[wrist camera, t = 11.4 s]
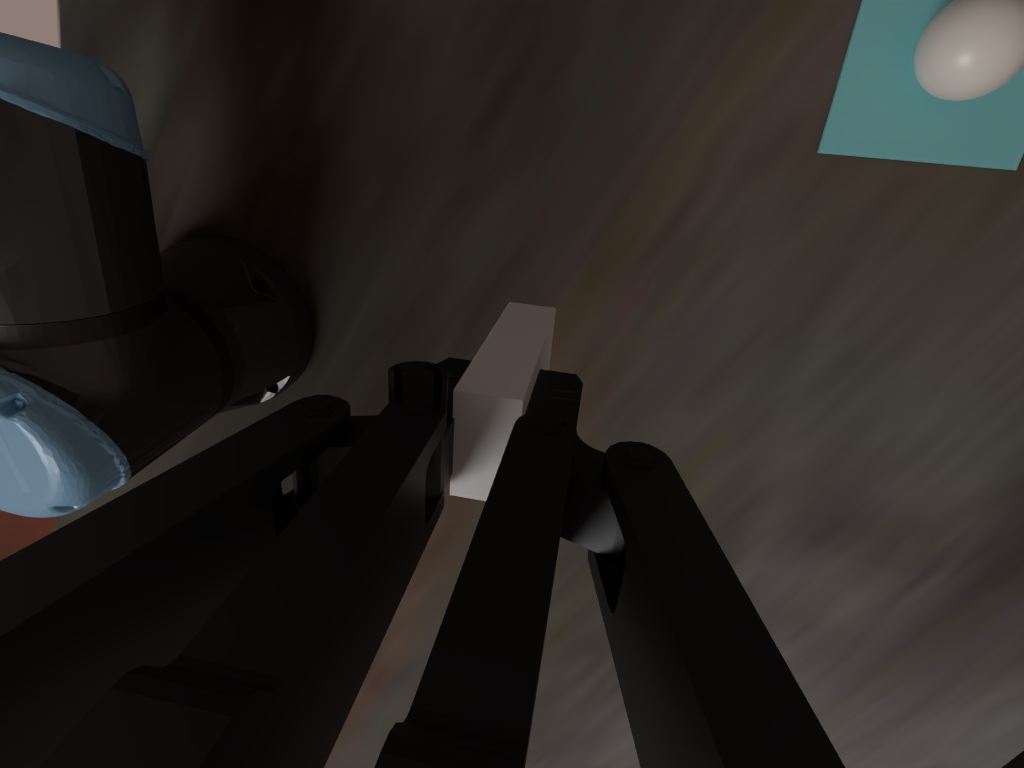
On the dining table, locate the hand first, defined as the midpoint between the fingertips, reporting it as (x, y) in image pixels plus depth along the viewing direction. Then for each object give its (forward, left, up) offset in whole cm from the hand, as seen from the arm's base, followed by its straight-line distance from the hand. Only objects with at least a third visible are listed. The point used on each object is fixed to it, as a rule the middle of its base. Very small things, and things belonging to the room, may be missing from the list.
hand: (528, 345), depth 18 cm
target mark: (+21, +12, -26) cm, 36 cm away
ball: (+21, +12, -24) cm, 34 cm away
